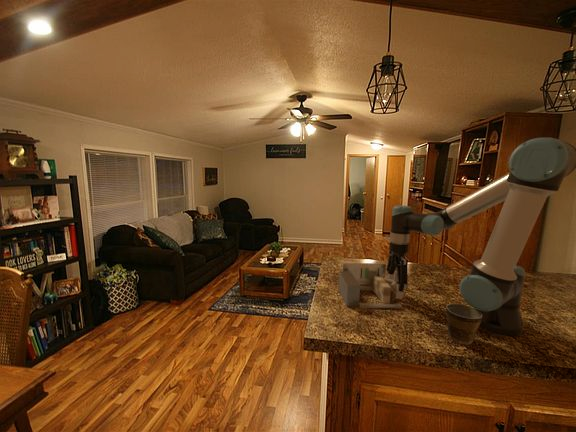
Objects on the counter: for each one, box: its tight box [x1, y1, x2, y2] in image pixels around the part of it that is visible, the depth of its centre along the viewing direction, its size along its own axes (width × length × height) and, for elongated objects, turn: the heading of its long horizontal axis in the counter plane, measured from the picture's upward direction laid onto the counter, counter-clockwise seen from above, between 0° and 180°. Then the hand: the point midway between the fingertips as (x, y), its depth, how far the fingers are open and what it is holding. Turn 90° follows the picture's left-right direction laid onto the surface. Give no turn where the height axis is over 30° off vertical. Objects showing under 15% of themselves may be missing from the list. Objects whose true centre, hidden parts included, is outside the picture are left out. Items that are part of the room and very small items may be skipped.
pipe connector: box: [384, 270, 409, 296], centre depth 118 cm, size 10×10×10 cm
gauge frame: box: [338, 262, 402, 309], centre depth 119 cm, size 20×22×12 cm
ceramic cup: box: [438, 303, 482, 346], centre depth 91 cm, size 13×10×10 cm
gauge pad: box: [372, 274, 392, 304], centre depth 120 cm, size 15×3×7 cm, turn 1°
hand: (394, 292), depth 119 cm, fingers closed on pipe connector, 9 cm apart
